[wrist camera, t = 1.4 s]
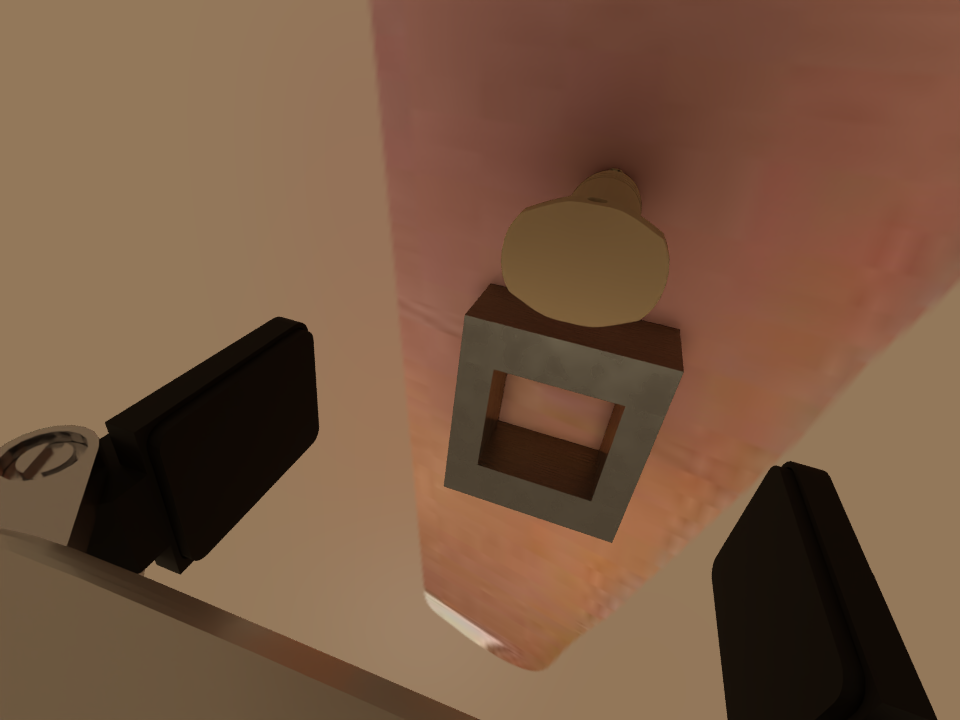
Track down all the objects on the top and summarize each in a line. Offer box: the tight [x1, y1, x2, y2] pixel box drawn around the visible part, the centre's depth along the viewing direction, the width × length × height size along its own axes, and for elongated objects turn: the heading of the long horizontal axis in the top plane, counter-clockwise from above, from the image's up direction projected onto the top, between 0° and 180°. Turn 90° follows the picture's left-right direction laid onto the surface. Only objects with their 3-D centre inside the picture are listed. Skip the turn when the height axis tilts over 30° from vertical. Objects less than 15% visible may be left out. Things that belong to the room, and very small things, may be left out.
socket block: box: [444, 284, 684, 543], centre depth 37 cm, size 16×14×6 cm
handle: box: [501, 168, 669, 327], centre depth 25 cm, size 5×6×15 cm
